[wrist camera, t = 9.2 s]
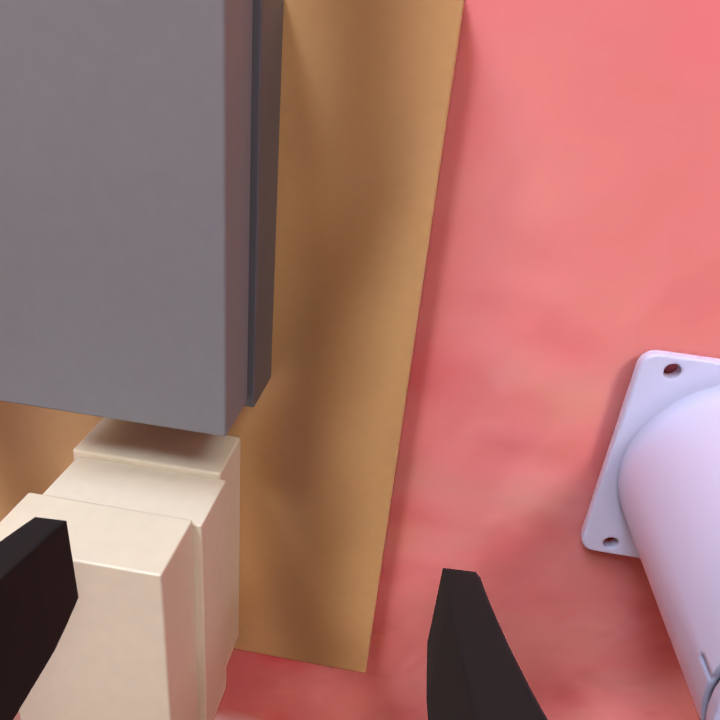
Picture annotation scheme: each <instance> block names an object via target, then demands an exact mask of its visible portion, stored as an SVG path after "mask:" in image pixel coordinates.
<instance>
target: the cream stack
mask: <svg viewBox="0 0 720 720" xmlns="http://www.w3.org/2000/svg"><path fill="white" fill-rule="evenodd" d="M240 448H241V440H240V438H239V437H235V436H228V435H226V436H218V435H212V434H206V433H200V432H193V431H187V430H181V429H174V428H168V427H162V426H155V425H149V424H143V423H136V422H130V421H124V420H118V419H111V418H105V417H104V418H103V419H102V420H101V421H100V422H99V423H98V425H97V426H96V427H95V428H94V429H93V430H92V431H91V432H90V433H89V434H88V435H87V436H86V437H85V438H84V439H83V440H82V441H81V442H80V443H79V444H78V445H77V446H76V447H75V448H74V450H73V454H74V461H73V462H72V464H71V465H70V466H69V467H68V468H67V469H66V470H65V471H64V472H63V473H62V474H61V475H60V476H59V477H58V478H57V479H56V481H55V482H54V483H53V484H52V485H51V486H50V487H49V488H48V489H47V490H46V491H45V492H44V493H43V494H42V495H48V496H53V497H59V498H65V499H71V500H77V501H83V502H89V503H95V504H100V505H106V506H112V507H118V508H124V509H130V510H136V511H141V512H147V513H153V514H159V515H165V516H171V517H177V518H183V519H188V520H192V531H193V560H194V589H195V618H196V647H197V676H198V705H199V720H214V719H215V716H216V713H217V710H218V708H219V705H220V702H221V699H222V697H223V694H224V691H225V688H226V686H227V675H226V667H227V665H228V662H229V659H230V657H231V654H232V651H233V649H234V646H235V643H236V641H237V638H238V635H239V552H240Z"/></svg>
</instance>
